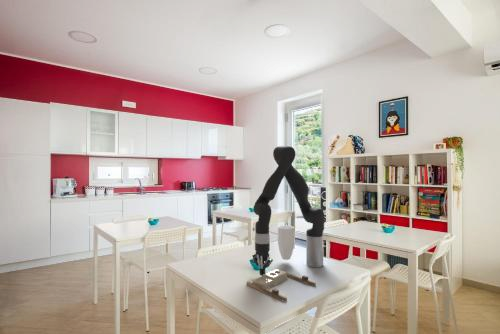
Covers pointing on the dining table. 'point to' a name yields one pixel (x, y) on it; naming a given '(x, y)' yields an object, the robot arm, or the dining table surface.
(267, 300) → the dining table surface
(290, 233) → the cup
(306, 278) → the brown flat piece
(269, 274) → the electrical outlet
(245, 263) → the dining table surface
